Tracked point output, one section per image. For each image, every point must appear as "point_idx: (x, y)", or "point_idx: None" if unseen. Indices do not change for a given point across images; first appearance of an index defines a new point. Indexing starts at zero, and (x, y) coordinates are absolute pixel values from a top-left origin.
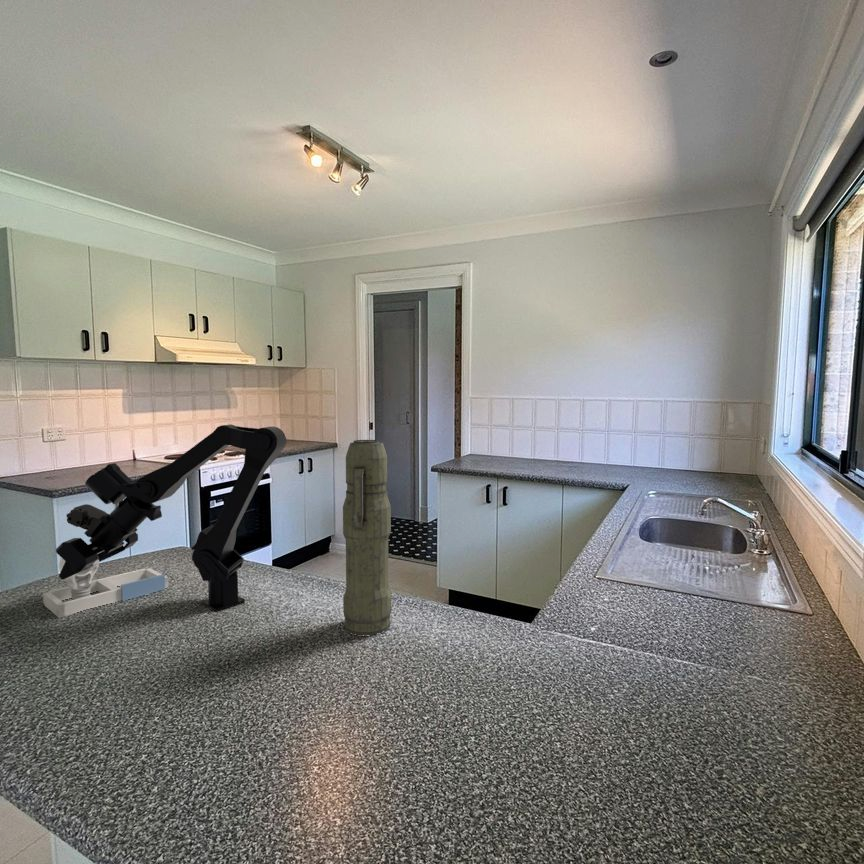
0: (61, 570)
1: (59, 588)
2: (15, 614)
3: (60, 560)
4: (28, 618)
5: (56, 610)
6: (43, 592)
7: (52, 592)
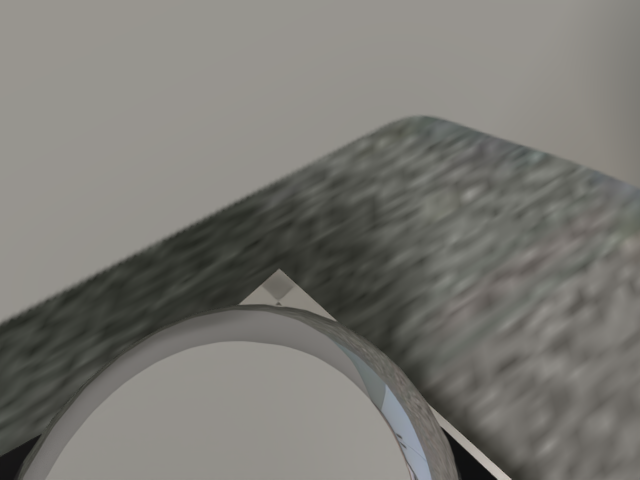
0: (20, 447)
1: (331, 317)
2: (180, 253)
3: (137, 341)
4: (113, 332)
5: None
6: (276, 273)
7: None
